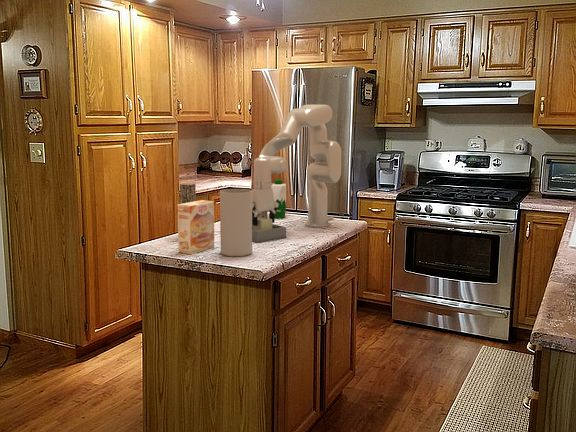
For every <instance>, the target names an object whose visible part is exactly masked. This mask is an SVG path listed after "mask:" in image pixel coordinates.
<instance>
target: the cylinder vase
mask: <svg viewBox="0 0 576 432" xmlns="http://www.w3.org/2000/svg"><path fill="white" fill-rule="evenodd" d="M252 191H253V189H246V188H226V189H222V190H220V191H219V207H220V208H219V209H220V210H219V221H220V223H219V224H220V225H219V229H220V230H219V231H220V232H219V233H220V253H221V254H222V255H224V256H227V257H233V258H234V257H246V256H249V255H251V254H252V253H253V242H252Z"/></svg>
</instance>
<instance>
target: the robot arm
mask: <svg viewBox="0 0 576 432" xmlns="http://www.w3.org/2000/svg"><path fill="white" fill-rule="evenodd" d="M332 119H333V110H332V108H331V106H330V105H328V104H304V105H302V106H300V107H299V108H294V109H293V108H292V109H291V110H290V111H289V112H288V113H287V116H286V118H285V120H284V122H283V124H282V126H281V127H280V130H279V132H278V134H277V135H276V136H274V137H272V139H270V141H268V142H267V143H266V144H265V145H264V146H263V148H262V149H261V152H260V154H259V155H258V157H257V158H255V159H253V177H254V178H253V179H254V180H253V181H254V182H253V184H254V189H252V225H254V226H257V225H258V218H257V217H256V216H257V214H258V213H259V212H264V211H268V212H269V213H268V218H269V219H272V224H275V221H276V218H275V213H276V211H277V209H278V205H279V203H277V202H275V201H274V195H273V190H272V188H271V185H273V184H274V183H273V182H272V174H282V173H284V172H285V171H287V168H288V162H287V160H286V158H284V157H282V156H279V155H278V156H276V155H275V154H277V153H278V152H279V151H281V150H283V149H285V148H289V147H290V146H293V145H294V144H295V143H296V141H297V140H298V137H299V135H300V134H301V133H300V132H301V131H302V129H303V128H308V132H309V155H310V157H311V158H312V159H314V160H318V161H319V162H318V161H317V162H316V161H314V162H312V163H309V164H308V165H307V169H306V178H307V182H308V183H307V184H308V185H307V187H308V197H307V199H308V202H307V203H308V204H307V206H308V207H307V209H308V210H307V211H308V212H307V221H305V223H304V226H306V227H309V228H328V227H330V226H331V222H330V221H333V220H334V219H335V218H334V215H333V216H329V215H328V195H329V194H328V190H329V189H328V187H327V184H326V183H329V184H334V183H338V181H340V179H341V175H342V147H341V145H340V144H339V142H337V141H336V140H330V139H329V140H328V130H327V126H326V124H327V123H329V122H330V121H331V120H332ZM320 160H321V161H327V162H320ZM254 213H255V214H254Z"/></svg>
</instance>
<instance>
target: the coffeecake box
mask: <svg viewBox="0 0 576 432" xmlns="http://www.w3.org/2000/svg"><path fill="white" fill-rule="evenodd" d="M176 206H177V239H178V240H177V244H178V245H177V247H178V248H177V249H178V250H177V252H178V253H182V254H186V253H187V254H186V255H193V254H197V253H201V252H204V251H206V250H209V249H213V248H215V201H212V200H203V199H201V200H196V201H194V202H189V203H183V204H180V203H179V204H177V205H176Z"/></svg>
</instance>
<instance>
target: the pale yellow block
mask: <svg viewBox="0 0 576 432" xmlns="http://www.w3.org/2000/svg"><path fill="white" fill-rule="evenodd" d="M272 224H273V223H272V219H269V217H268V218H258V225H257V226H254V225H253V230H255V231H262V230H268V229H272Z"/></svg>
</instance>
